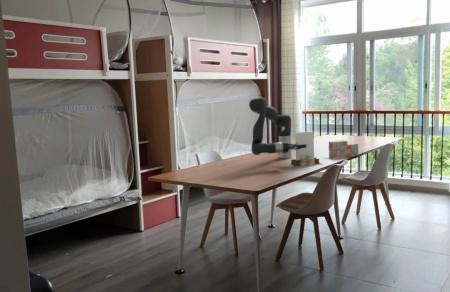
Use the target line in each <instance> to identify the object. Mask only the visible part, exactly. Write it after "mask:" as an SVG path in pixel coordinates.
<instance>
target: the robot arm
mask: <svg viewBox="0 0 450 292" xmlns="http://www.w3.org/2000/svg"><path fill="white" fill-rule="evenodd" d="M267 103H268V101H267V100H266V98H265V97H258V98H253V99H250V101H249V103H248V105H249V106H248V107H249V109H250V110H251V112H252V113H256V114H258V115H259V116H258V118H257V120H256V122H255V123H254V125H253V128H252V142H251V153H252V154H253V155H254V156H259V155H260V154H278V159H291V158H292V151H293V150H295V151H296V149H301V148H306V144H304V145H297V144H296V143H292V139H291V138H292V137H291V136H292V135H291V134H292V118H291V116H290V114H279V111H278V110H277V109H276V108H275V107H273V106H271V105H268V104H267ZM266 119H267V120H269V121H270V122H272V123H274V124H275V125H276V126H277V127H279V128H284V129H283V130H282V131H279V132H278V141H277V142H270V143H267V142H263V139H264V126H265V121H266Z"/></svg>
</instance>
